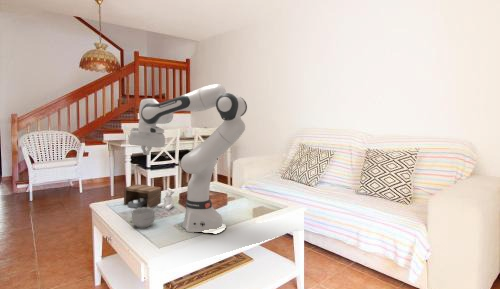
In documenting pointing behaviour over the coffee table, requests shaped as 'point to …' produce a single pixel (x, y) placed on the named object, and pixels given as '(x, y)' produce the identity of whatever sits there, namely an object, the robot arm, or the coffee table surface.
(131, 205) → the tray
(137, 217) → the teacup
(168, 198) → the seated beast figurine
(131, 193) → the wooden plank crate
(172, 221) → the coffee table surface
